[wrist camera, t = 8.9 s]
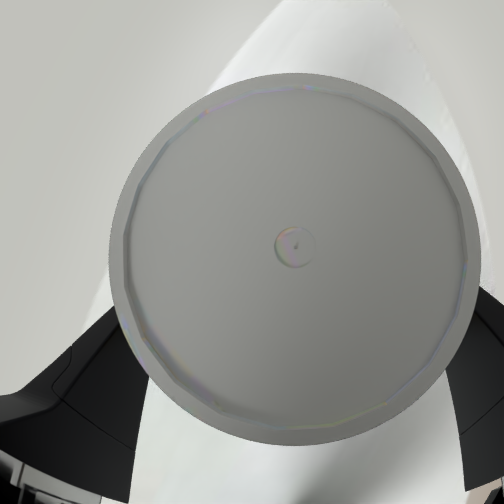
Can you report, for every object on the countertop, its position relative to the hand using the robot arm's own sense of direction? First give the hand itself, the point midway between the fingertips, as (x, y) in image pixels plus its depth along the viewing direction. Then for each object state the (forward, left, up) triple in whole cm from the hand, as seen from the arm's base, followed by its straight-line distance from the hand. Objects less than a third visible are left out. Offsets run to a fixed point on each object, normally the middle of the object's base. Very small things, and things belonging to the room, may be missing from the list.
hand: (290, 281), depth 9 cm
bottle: (0, 0, -10) cm, 10 cm away
